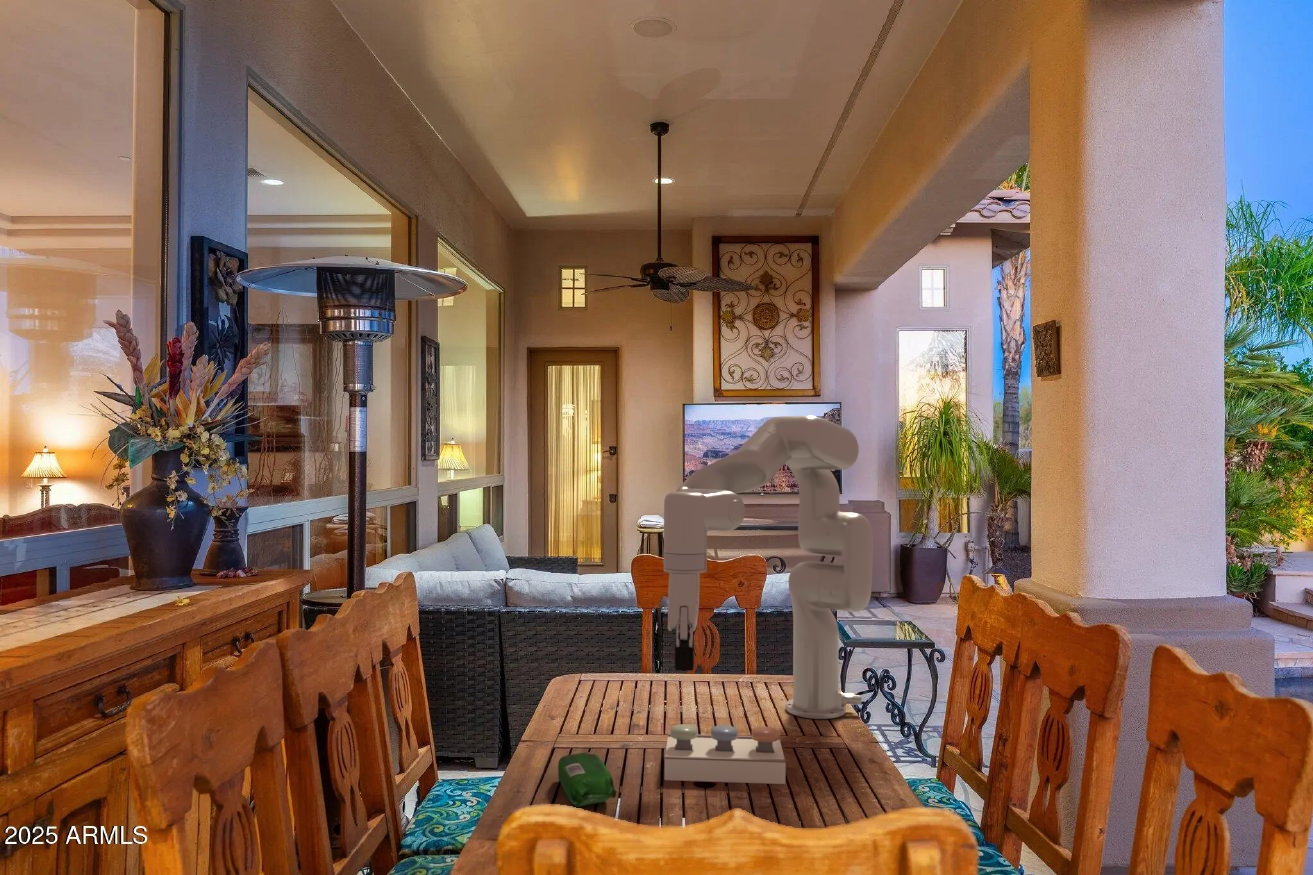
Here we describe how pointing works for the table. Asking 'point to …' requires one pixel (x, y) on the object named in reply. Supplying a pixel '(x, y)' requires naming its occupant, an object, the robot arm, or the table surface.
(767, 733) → the terracotta button
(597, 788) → the snack package
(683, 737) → the sage button
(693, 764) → the console
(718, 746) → the slate button
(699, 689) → the table surface
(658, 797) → the table surface
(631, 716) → the table surface
